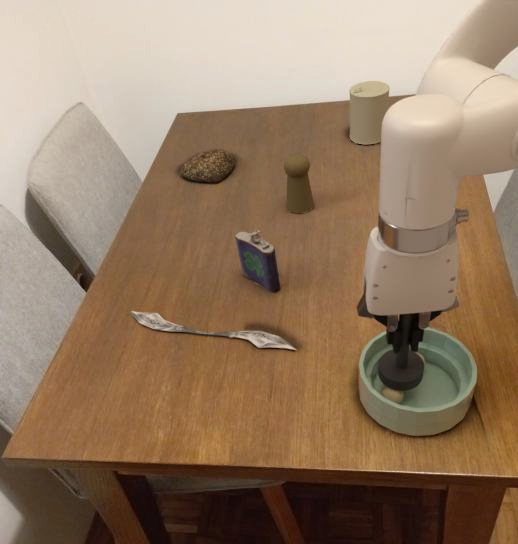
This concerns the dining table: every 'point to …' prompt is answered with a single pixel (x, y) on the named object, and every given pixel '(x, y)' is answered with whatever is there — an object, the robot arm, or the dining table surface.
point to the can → (368, 111)
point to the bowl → (421, 386)
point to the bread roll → (209, 166)
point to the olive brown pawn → (298, 184)
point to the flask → (258, 260)
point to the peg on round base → (402, 361)
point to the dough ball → (392, 394)
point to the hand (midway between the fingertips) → (403, 344)
